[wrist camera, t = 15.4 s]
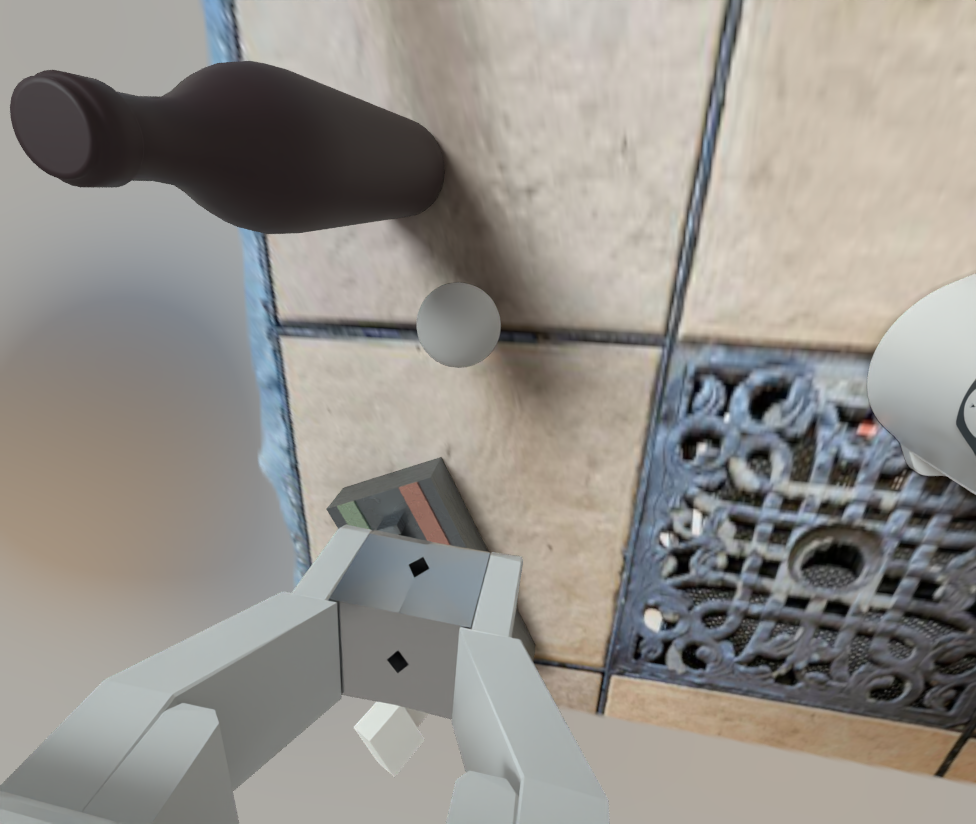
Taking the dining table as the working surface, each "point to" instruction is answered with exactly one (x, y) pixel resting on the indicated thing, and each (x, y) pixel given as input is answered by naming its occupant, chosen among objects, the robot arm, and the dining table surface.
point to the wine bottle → (236, 145)
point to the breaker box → (416, 513)
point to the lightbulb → (458, 325)
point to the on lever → (391, 734)
